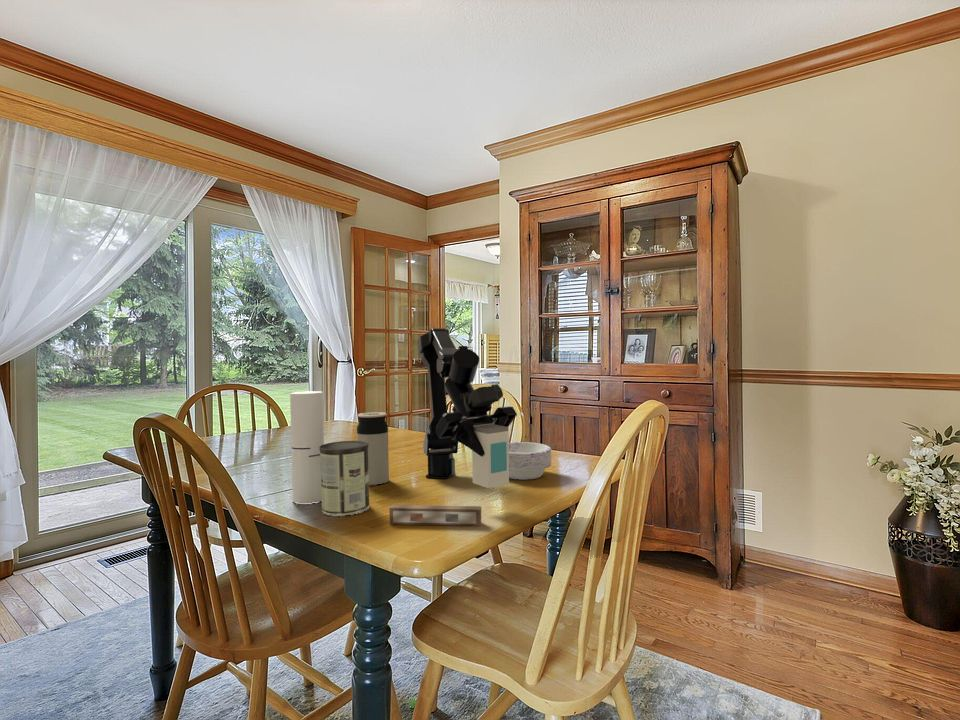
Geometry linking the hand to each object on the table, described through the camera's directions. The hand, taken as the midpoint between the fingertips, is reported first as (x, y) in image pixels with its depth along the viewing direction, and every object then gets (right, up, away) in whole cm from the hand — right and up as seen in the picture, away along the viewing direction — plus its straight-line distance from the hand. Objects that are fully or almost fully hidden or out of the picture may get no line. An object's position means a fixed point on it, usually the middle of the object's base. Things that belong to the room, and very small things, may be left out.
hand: (494, 453), depth 105 cm
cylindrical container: (-43, -13, +11) cm, 46 cm away
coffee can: (-32, -13, +4) cm, 35 cm away
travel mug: (-31, -13, +27) cm, 43 cm away
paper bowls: (+9, -12, +31) cm, 34 cm away
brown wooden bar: (-12, -13, -6) cm, 18 cm away
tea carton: (-1, -7, +1) cm, 7 cm away
